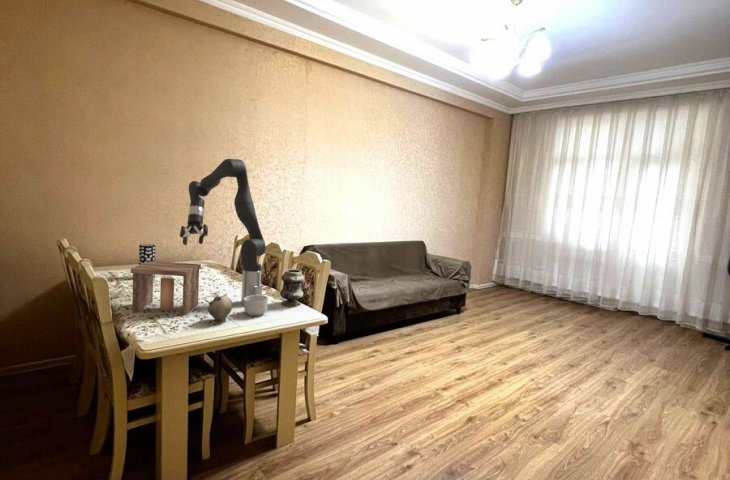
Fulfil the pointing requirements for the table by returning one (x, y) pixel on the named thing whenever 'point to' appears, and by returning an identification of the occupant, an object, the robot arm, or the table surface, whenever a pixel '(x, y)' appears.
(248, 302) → the teacup
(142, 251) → the spotted tube
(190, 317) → the table surface
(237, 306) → the table surface
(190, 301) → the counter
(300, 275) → the dark mottled vase
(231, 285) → the table surface
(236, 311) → the table surface
